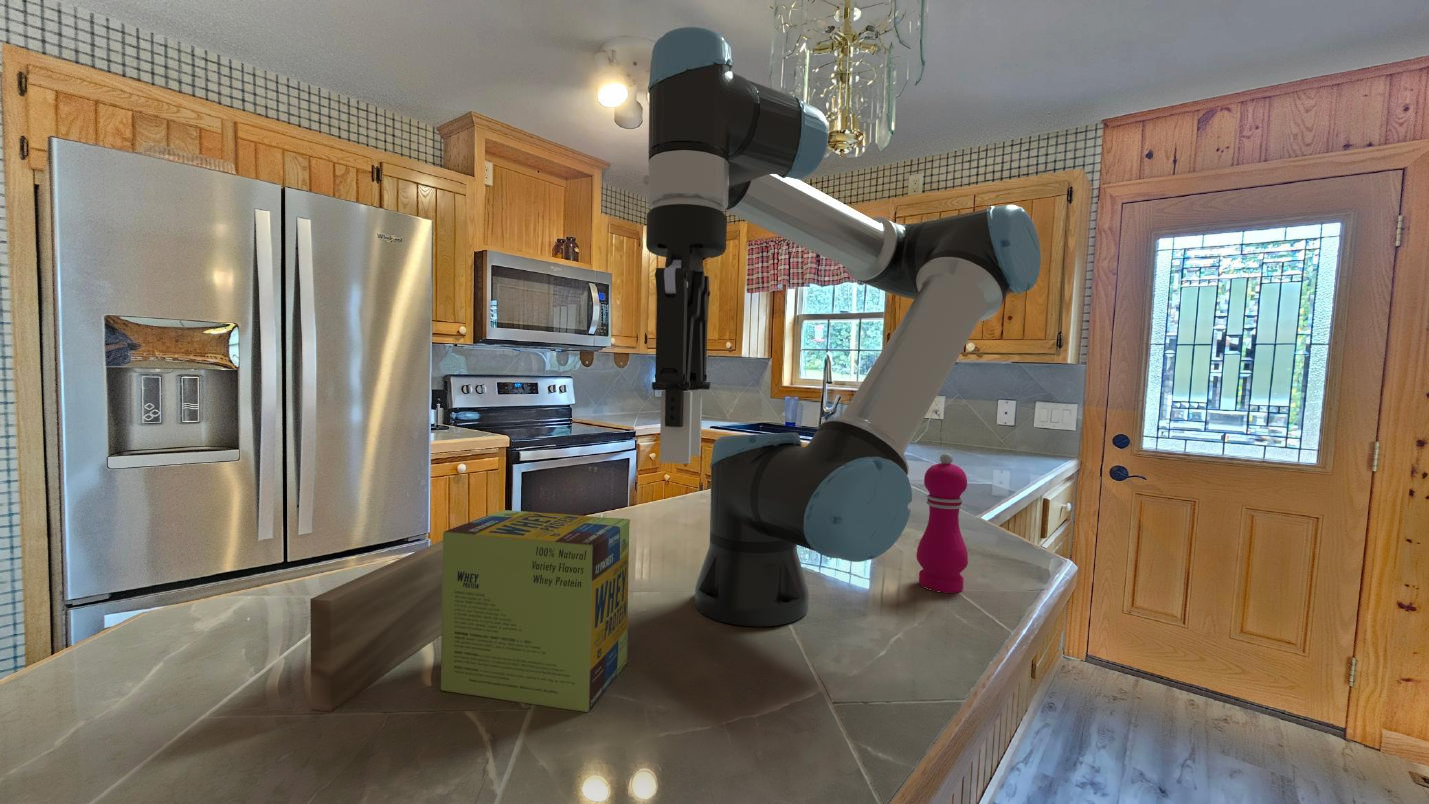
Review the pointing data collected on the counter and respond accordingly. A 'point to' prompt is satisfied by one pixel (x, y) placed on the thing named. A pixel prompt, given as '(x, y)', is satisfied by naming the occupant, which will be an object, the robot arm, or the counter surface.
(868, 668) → the counter surface
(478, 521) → the protein box
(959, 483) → the pepper mill
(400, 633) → the board
